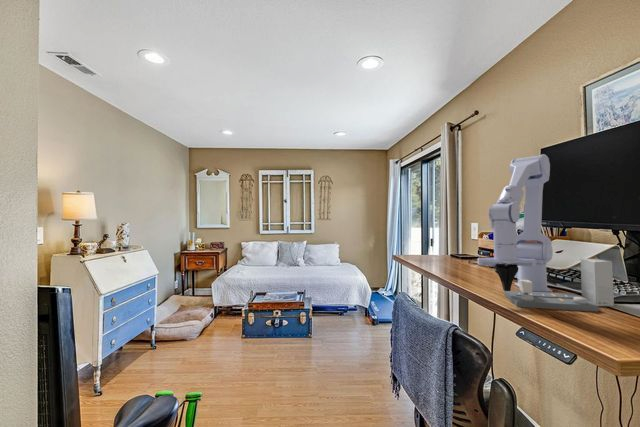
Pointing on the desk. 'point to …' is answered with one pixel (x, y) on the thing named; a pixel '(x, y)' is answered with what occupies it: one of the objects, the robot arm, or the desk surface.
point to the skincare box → (597, 281)
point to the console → (551, 300)
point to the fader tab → (525, 286)
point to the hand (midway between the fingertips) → (506, 290)
